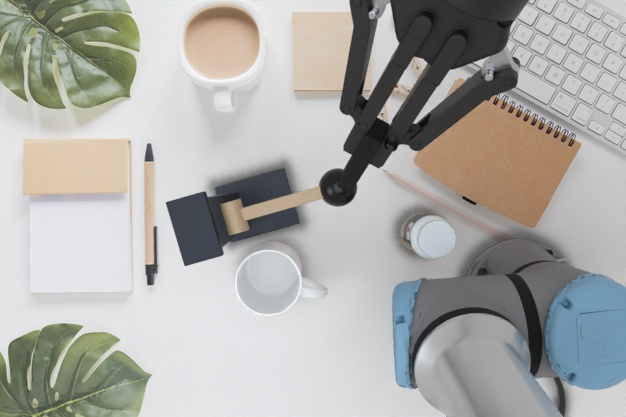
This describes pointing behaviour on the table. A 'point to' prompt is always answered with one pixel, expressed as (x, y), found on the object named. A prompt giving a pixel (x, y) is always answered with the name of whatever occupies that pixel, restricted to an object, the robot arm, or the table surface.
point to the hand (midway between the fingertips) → (348, 178)
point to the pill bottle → (428, 235)
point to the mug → (273, 280)
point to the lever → (287, 202)
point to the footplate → (261, 191)
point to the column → (200, 226)
